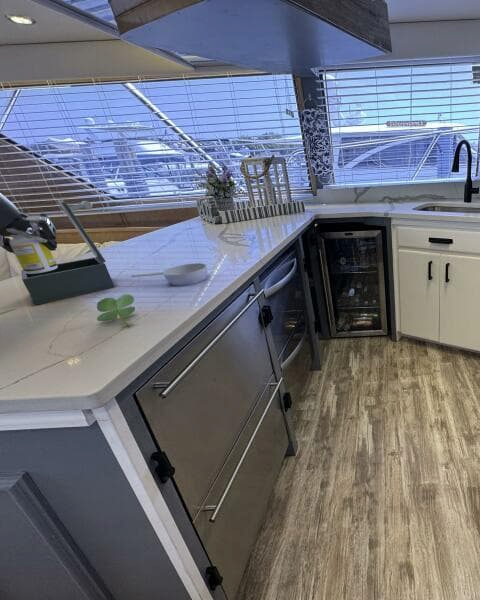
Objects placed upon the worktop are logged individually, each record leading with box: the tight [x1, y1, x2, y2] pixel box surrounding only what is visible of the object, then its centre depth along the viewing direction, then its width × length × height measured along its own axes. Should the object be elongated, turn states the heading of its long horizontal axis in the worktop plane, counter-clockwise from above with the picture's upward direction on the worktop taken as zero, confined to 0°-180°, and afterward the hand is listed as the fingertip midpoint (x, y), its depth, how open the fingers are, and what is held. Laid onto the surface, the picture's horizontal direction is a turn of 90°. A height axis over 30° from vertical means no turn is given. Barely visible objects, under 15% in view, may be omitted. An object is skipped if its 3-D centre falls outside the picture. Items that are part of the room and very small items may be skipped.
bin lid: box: [56, 199, 107, 263], centre depth 89 cm, size 16×13×6 cm
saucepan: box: [131, 262, 208, 286], centre depth 91 cm, size 11×18×4 cm, turn 114°
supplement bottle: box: [10, 235, 58, 274], centre depth 72 cm, size 5×5×10 cm
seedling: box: [96, 293, 136, 327], centre depth 68 cm, size 7×8×7 cm
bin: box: [20, 256, 115, 306], centre depth 88 cm, size 16×13×7 cm
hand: (36, 249), depth 73 cm, fingers closed on supplement bottle, 5 cm apart
